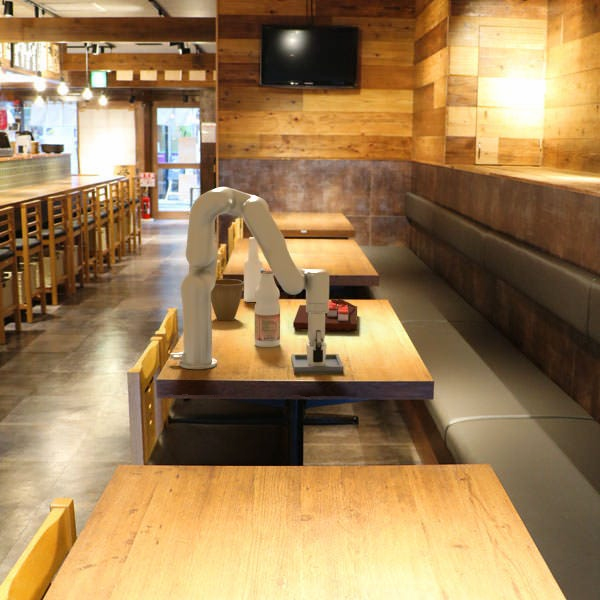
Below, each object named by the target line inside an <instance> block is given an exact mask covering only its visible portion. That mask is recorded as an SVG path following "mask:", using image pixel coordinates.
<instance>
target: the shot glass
mask: <svg viewBox="0 0 600 600" xmlns="http://www.w3.org/2000/svg"><path fill="white" fill-rule="evenodd" d="M305 347H306V354H307V360H308V365H310V366H323V365H325V356H326V354H327V342H325V341H324V342H323V343H322V347H323V362H313V350H314V342H312V343H310V342H307V343H306V346H305Z"/></svg>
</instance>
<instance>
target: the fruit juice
mask: <svg viewBox="0 0 600 600" xmlns="http://www.w3.org/2000/svg"><path fill="white" fill-rule="evenodd" d="M274 276H275V275H274V274H273V272H272V270H271V268H263V269H262V270H261V280H260V283H259V285H258V287H257V289H256V290H255V298H256V303H254V304H255V305H254V311H253V312H254V345H255V346H257V347H260V348H274V347H275V348H276V347H279V346H280V345H281V344H280V343H281V306H280V305H281V304H280V302H279V301H280V300H279V299H280V296H281V295H280V290H279V288H278V286H277V284H276V281H275V277H274Z"/></svg>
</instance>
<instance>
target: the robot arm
mask: <svg viewBox="0 0 600 600" xmlns="http://www.w3.org/2000/svg"><path fill="white" fill-rule="evenodd" d="M224 214H227V215H230V216H233V217H237V218H241V219H242V220H243V221H244V223H245V225H246V227H247V228H248V230H249V232H250V233H251V235H252V237H254V238H255V240H256V242H257V244H258V248H260V250H261V253H262V254H263V256H264V258H265V260H266V262H267V263H268V264H267V265H268V266H269V269H271V270H272V272H273V274H274V275H273V276H274V278H276V280H277V282H278V284H279V286H281V288H282V290H283V291H284V292H285V293H286V294H287V295H288V294H289V295H295V296H296V295H298V294H300V293H301V292H302V291H303V290H305V305H306V312H308V313H309V316H308V330H307V339H308V341H309V342H310V343H312V342H314V350H313V362H323V347H322V343H323V342H324V343H325V339H326V338H325V336H326V330H325V313H327V312H329V301H330V272H329V271H328V270H326V269H322V268H313V269H307V268H302V267H297V266H296V264H295V262H294V261H293V258H292V257H291V255H290V252H289V250H288V246H287V242H286V239H285V237H284V235H283V233H282V232H281V231H282V230H280V228H279V226H278V224H277V223H276V221H275V220H274V217H273V215H272V214H271V213H270V208H269V205H268V203H267V201H266V200H265V199H264V198H262V197H260V196H256V195H254V194H250V193H247V192H243V191H241V190H237V189H234V188H231V187H227V186H220V187H219V186H218V187H216V188H212V189H210V190H208V191H206V192H204V193H203V194H201V195H199V196H198V197H197V198H196V199H195V200H194V202H193V204H192V205H191V208H190V211H189V218H188V219H189V220H188V226H187V227H188V228H187V229H188V230H187V238H186V248H185V257H186V261H187V263H188V274H187V275H185V277H183V280H182V282H181V286H180V297H181V304H182V307H181V308H182V329H183V331H182V333H183V334H182V337H183V338H182V339H183V344H182V345H183V350H182V351H180V352H177V353H176V352H170V353H169V356H170V357H169V358H170V359H172V360H173V361H174V360H175V361H177V360H180V361H178V365H179V367H181V368H183V369H187V370H188V369H189V370H206V369H211V368H214V367H215V366H217V365H218V360H217V359H215V358H213V320H212V319H213V318H212V317H213V316H212V315H213V314H212V303H211V291H212V290H213V288H214V286H215V282H216V279H217V270H218V269H217V268H218V258H219V249H218V246H217V243H216V241H214V240H215V239H214V238H215V230H216V229H215V228H216V224H215V222H216V219H217V217H218V216H221V215H224Z"/></svg>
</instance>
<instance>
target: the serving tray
mask: <svg viewBox="0 0 600 600" xmlns="http://www.w3.org/2000/svg"><path fill="white" fill-rule="evenodd" d="M290 357H291V366H292V371H293V375H294V376H295V375H298V376H299V375H300V376H301V375H344V369H345V367H344V364H343V362H342V361H341V360H342V359H341V357H340V355H339V354H338V353H326V356H325V365H323V366H310V365H308V360H307V353H305V354H304V353H303V354H300V353H299V354H296V353H295V354H293V353H292V354H291V356H290Z"/></svg>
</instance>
